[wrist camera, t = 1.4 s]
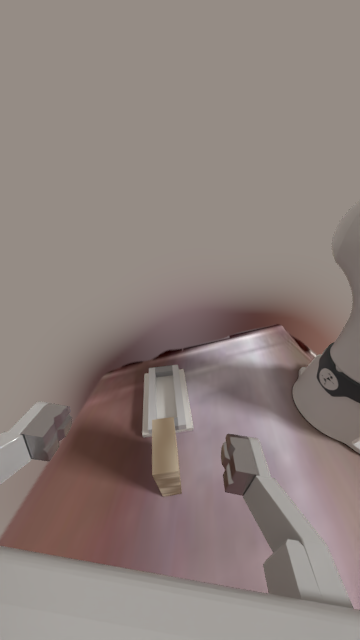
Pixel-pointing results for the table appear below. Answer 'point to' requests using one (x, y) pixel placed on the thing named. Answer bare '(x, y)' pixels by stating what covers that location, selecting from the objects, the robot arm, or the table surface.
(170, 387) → the floor track
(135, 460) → the table surface
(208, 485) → the table surface
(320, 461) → the table surface
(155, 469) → the tan wooden block
